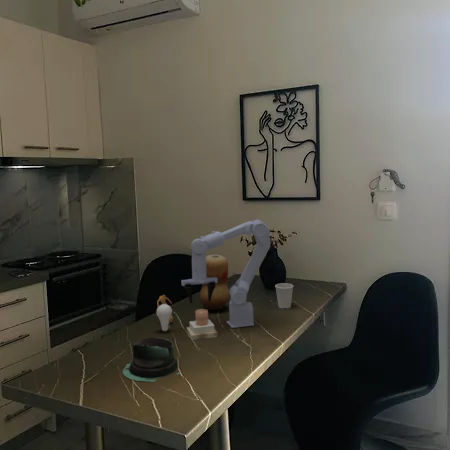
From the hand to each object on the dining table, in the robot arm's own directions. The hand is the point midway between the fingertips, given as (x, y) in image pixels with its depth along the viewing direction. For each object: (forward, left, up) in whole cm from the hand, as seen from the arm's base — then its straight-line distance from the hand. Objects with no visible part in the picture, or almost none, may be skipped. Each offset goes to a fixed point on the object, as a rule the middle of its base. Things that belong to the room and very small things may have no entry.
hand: (200, 301), depth 192 cm
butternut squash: (-11, -20, -11) cm, 25 cm away
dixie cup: (-42, -13, -11) cm, 45 cm away
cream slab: (+2, +9, -9) cm, 13 cm away
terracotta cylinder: (+1, +9, -6) cm, 11 cm away
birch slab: (+2, +9, -11) cm, 15 cm away
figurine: (+13, -9, -11) cm, 19 cm away
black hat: (+23, +35, -11) cm, 43 cm away
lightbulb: (+15, +1, -11) cm, 18 cm away
